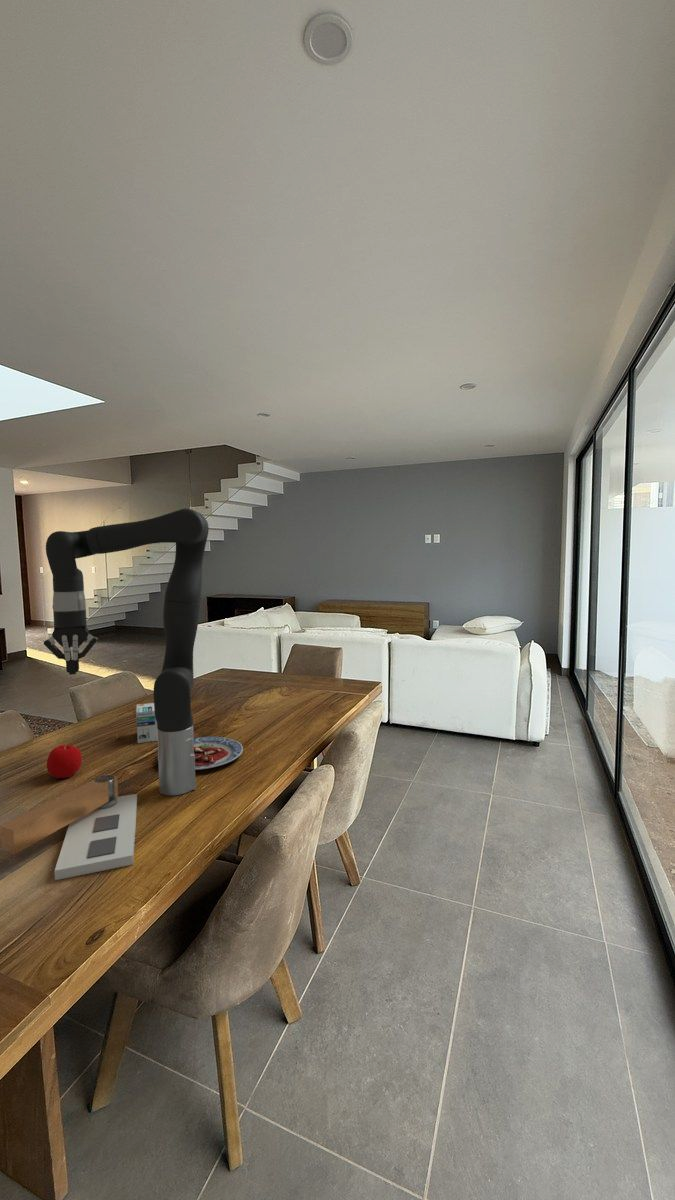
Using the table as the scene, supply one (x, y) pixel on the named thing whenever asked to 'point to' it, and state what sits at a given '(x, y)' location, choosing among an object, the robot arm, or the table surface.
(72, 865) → the label board
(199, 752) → the ceramic plate
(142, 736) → the light bulb box
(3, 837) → the swing arm
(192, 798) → the table surface
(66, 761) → the fruit
